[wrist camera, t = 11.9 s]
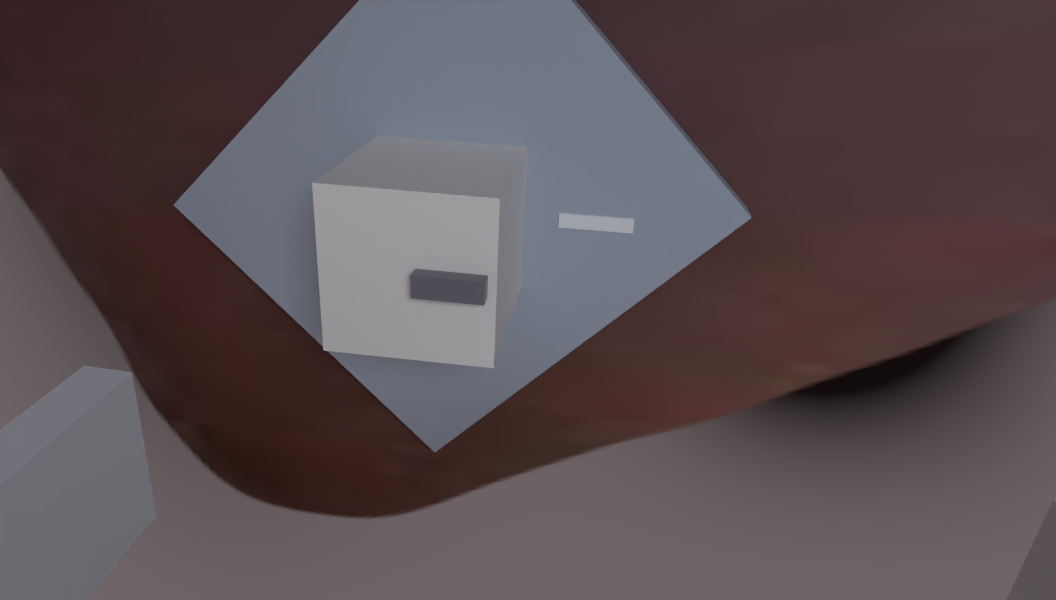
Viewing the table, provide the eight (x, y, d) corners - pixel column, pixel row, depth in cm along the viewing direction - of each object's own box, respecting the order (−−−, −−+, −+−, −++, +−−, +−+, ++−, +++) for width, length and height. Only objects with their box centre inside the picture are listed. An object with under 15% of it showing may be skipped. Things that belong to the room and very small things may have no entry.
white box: (382, 274, 33) (317, 358, 26) (377, 135, 31) (304, 188, 24) (520, 287, 33) (491, 377, 26) (527, 147, 30) (496, 204, 23)
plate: (191, 195, 34) (92, 249, 28) (477, -118, 28) (432, -139, 22) (441, 434, 38) (403, 531, 32) (746, 206, 32) (775, 269, 25)
